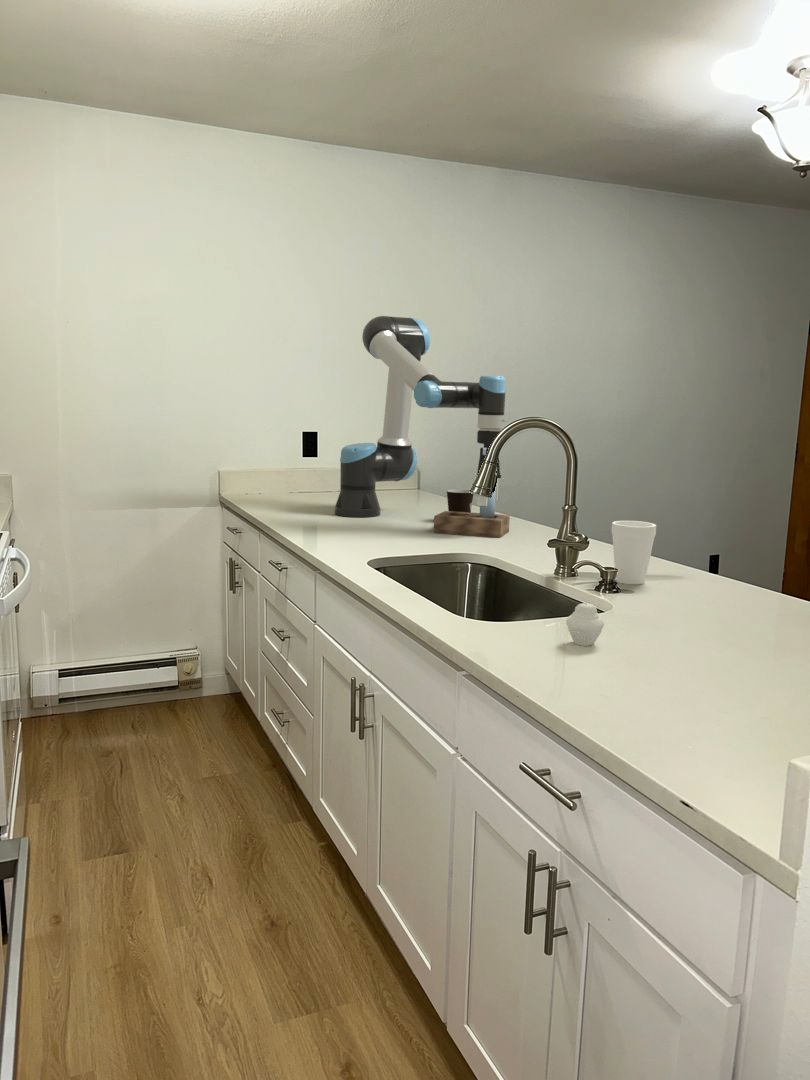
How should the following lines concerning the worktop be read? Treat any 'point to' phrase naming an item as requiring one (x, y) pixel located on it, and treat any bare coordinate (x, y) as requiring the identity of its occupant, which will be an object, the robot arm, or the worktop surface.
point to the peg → (488, 508)
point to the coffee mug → (459, 500)
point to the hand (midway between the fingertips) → (487, 502)
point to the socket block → (471, 524)
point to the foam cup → (632, 549)
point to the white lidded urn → (585, 624)
